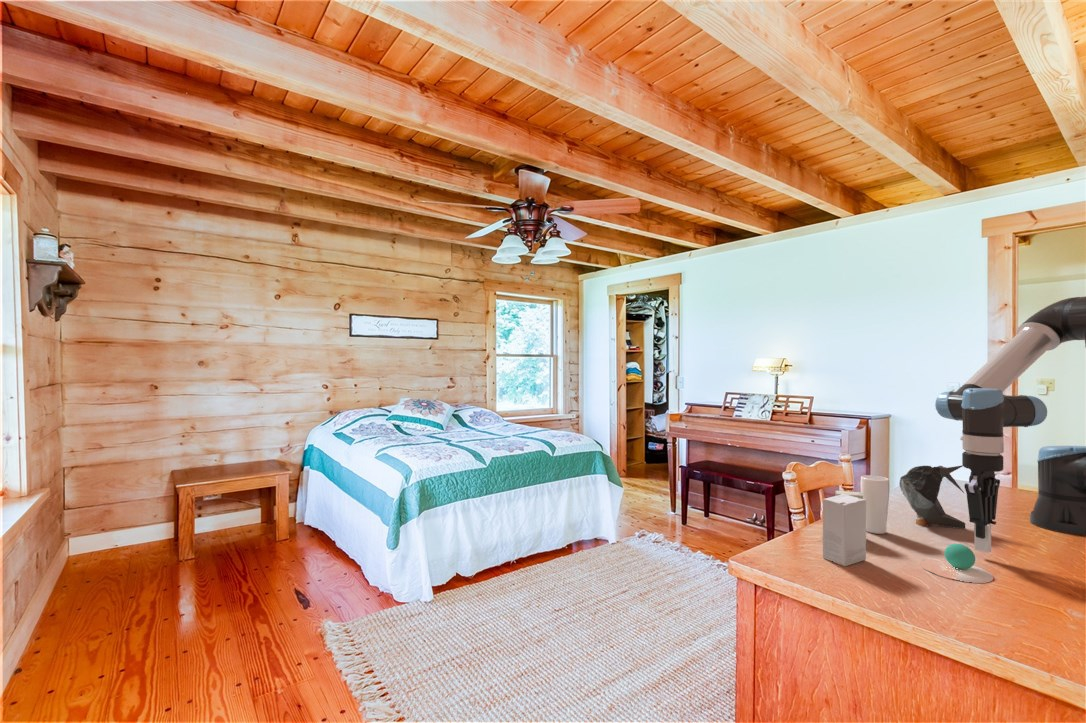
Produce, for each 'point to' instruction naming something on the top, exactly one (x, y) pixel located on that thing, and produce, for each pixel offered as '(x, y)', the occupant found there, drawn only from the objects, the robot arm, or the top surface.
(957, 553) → the ball
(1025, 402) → the robot arm
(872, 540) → the top surface
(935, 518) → the bird figurine
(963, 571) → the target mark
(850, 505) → the skincare box
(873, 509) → the drinking glass
